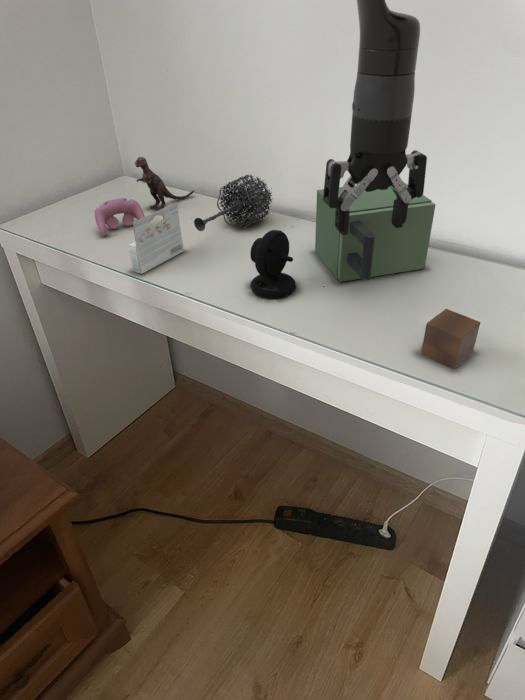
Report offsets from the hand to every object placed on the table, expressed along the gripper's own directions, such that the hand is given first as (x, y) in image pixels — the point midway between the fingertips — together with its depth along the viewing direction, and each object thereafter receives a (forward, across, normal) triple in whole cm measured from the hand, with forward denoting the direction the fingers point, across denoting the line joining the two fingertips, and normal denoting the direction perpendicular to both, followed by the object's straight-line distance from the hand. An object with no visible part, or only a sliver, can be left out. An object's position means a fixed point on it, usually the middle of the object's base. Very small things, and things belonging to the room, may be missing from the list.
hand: (370, 229), depth 77 cm
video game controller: (+12, -36, +41) cm, 56 cm away
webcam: (+12, -13, +7) cm, 19 cm away
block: (+12, +5, -17) cm, 21 cm away
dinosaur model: (+12, -25, +52) cm, 59 cm away
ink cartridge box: (+12, -30, +23) cm, 40 cm away
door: (+11, +6, +3) cm, 13 cm away
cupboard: (+12, +6, +12) cm, 18 cm away
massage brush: (+12, -13, +34) cm, 38 cm away
